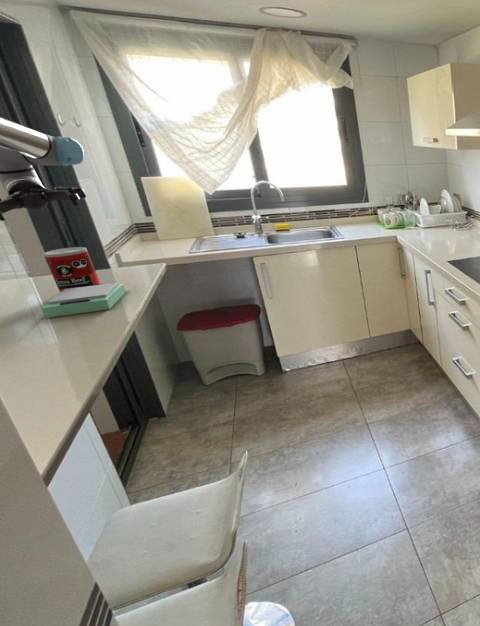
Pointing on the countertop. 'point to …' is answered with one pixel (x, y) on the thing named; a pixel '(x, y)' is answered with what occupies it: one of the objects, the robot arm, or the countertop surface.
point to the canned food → (71, 268)
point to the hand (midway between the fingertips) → (37, 207)
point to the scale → (83, 300)
